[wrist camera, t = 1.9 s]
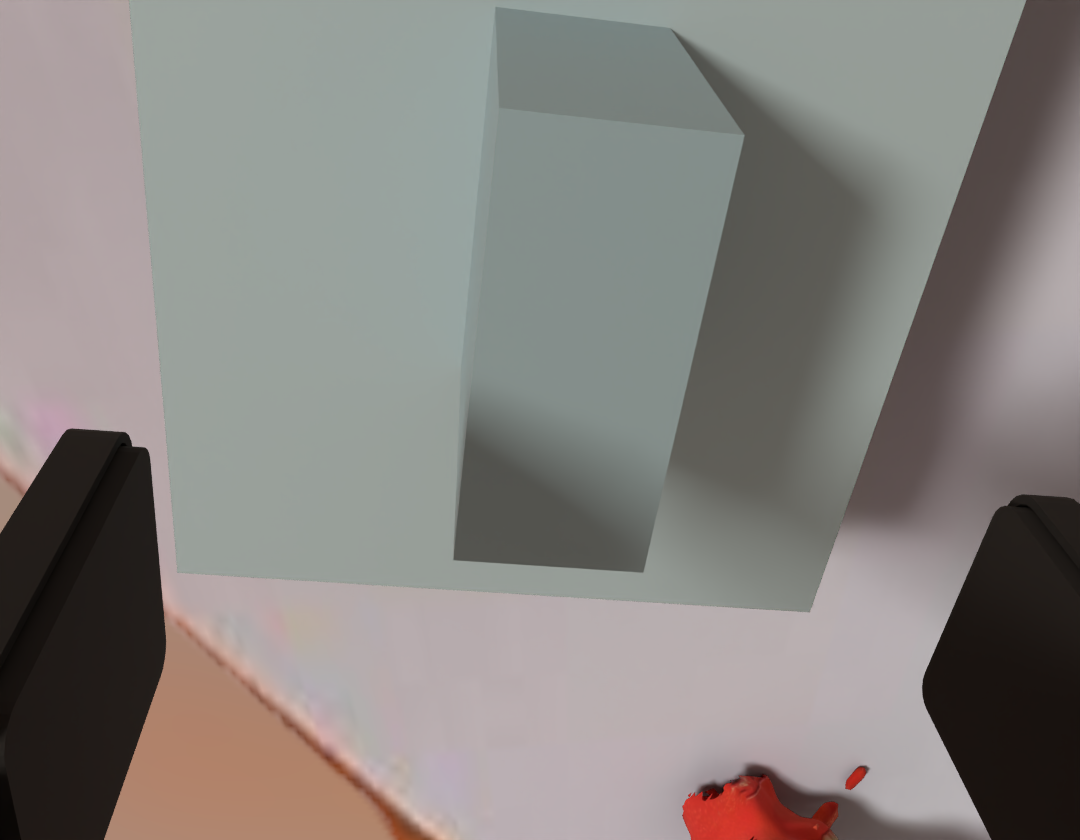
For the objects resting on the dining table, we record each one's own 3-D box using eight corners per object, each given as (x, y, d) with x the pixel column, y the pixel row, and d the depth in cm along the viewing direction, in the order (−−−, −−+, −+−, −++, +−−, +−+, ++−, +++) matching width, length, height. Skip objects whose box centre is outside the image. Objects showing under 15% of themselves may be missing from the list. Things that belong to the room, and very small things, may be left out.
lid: (1077, -339, 17) (1489, -410, 10) (787, 554, 27) (891, 826, 20) (132, -497, 15) (-159, -709, 8) (200, 514, 25) (93, 794, 18)
